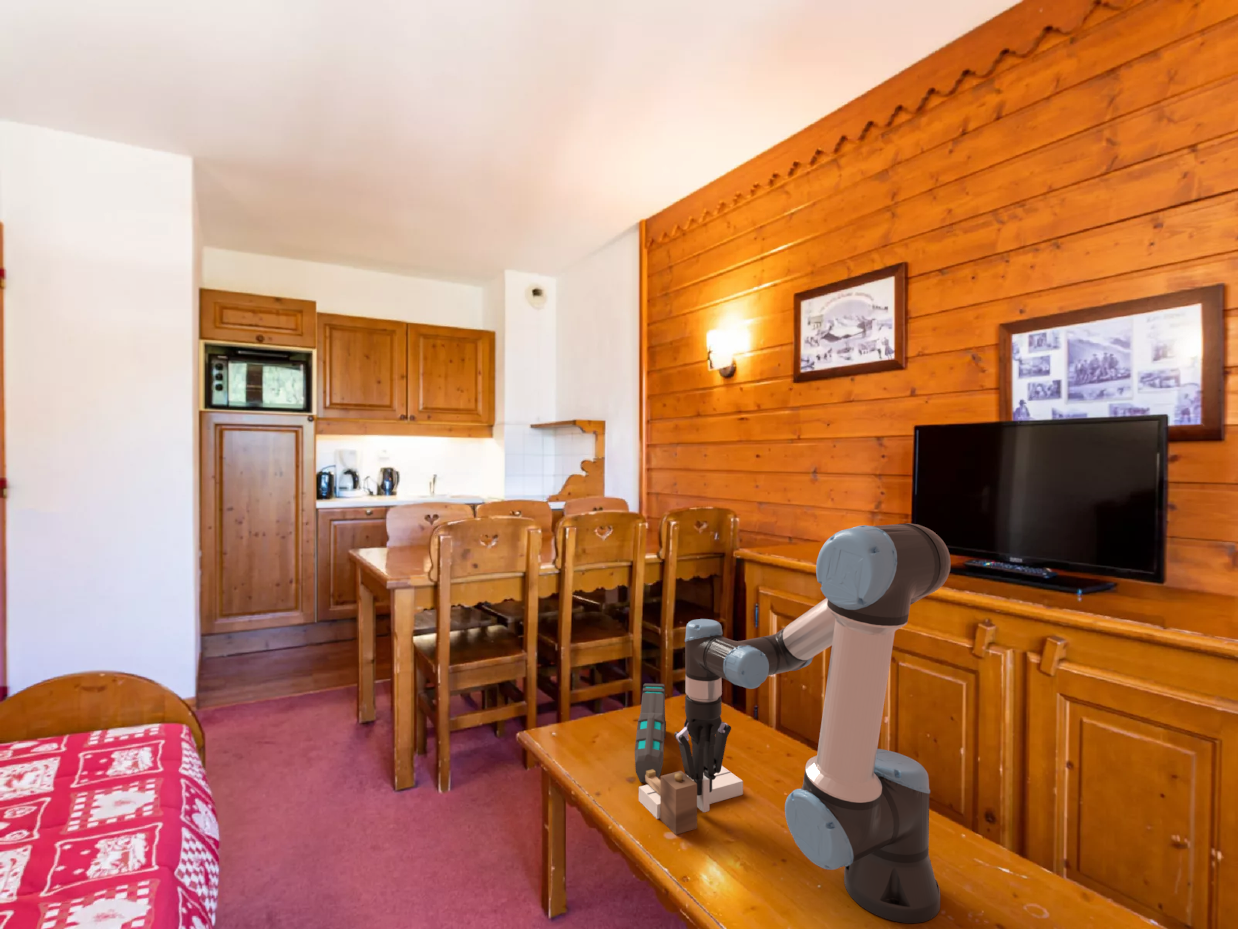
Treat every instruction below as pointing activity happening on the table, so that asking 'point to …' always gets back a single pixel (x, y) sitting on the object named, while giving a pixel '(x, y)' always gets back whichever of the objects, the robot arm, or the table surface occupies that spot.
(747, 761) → the table surface
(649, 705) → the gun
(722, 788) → the board
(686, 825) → the brown wooden clamp
